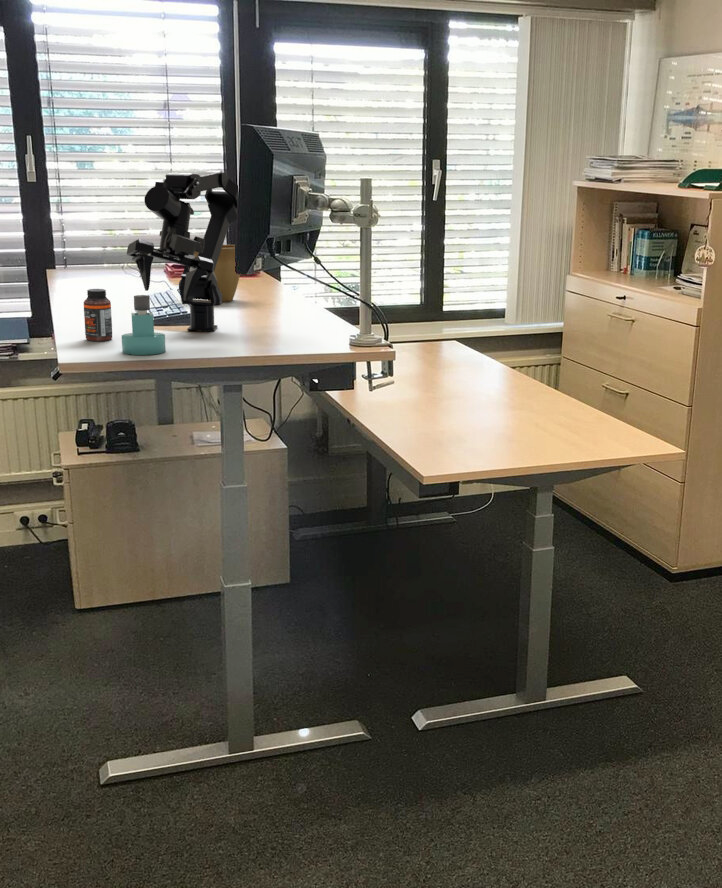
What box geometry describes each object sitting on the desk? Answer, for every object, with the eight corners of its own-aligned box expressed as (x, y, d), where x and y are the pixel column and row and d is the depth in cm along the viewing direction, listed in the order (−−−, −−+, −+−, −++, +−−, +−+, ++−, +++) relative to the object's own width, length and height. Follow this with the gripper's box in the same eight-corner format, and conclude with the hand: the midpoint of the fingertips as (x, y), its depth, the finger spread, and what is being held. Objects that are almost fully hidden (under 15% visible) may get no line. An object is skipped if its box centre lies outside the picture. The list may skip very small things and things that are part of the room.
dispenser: (122, 348, 200) (120, 312, 198) (164, 347, 203) (162, 311, 200) (122, 355, 192) (120, 317, 190) (166, 354, 194) (164, 316, 192)
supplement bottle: (79, 340, 208) (76, 289, 205) (98, 336, 213) (95, 287, 210) (100, 342, 206) (96, 292, 202) (118, 339, 211) (115, 289, 207)
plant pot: (248, 297, 282) (247, 244, 277) (240, 304, 268) (239, 248, 263) (199, 296, 282) (198, 243, 278) (189, 303, 268) (187, 247, 263)
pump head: (137, 332, 198) (135, 295, 195) (152, 333, 198) (150, 295, 195) (134, 335, 195) (132, 297, 192) (149, 335, 195) (147, 297, 192)
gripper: (150, 207, 194) (140, 279, 193) (228, 231, 205) (220, 300, 204) (130, 218, 204) (121, 287, 202) (207, 241, 214) (198, 306, 213)
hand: (166, 295), depth 205 cm, fingers open, 9 cm apart
